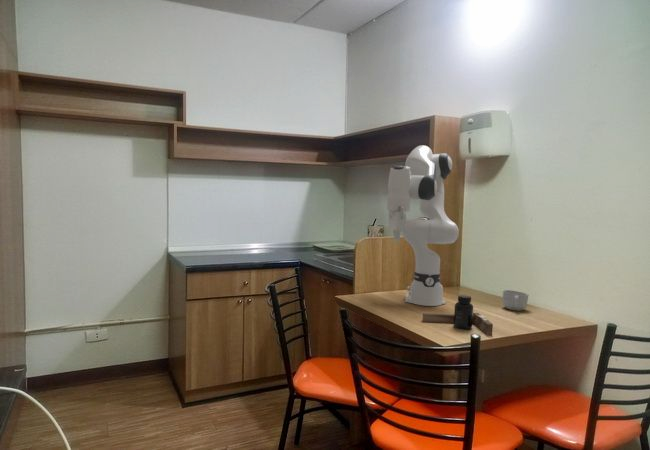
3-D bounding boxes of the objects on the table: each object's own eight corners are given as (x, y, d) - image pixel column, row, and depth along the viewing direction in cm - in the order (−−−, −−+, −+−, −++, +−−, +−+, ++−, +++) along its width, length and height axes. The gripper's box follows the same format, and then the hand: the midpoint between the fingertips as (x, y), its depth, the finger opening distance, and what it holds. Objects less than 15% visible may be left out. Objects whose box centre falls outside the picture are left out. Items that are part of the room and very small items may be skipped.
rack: (422, 320, 182) (423, 309, 182) (477, 322, 182) (478, 311, 182) (431, 332, 166) (432, 320, 166) (492, 335, 166) (492, 323, 166)
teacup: (503, 305, 216) (505, 288, 215) (528, 308, 210) (530, 291, 210) (498, 311, 204) (500, 293, 203) (525, 315, 198) (526, 296, 198)
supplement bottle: (475, 329, 172) (477, 298, 171) (458, 329, 171) (460, 298, 170) (466, 324, 179) (468, 294, 178) (450, 324, 177) (452, 294, 177)
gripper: (411, 207, 170) (409, 244, 171) (402, 206, 190) (400, 239, 191) (394, 206, 170) (392, 243, 171) (386, 205, 190) (385, 238, 191)
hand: (396, 241), depth 181 cm, fingers closed
